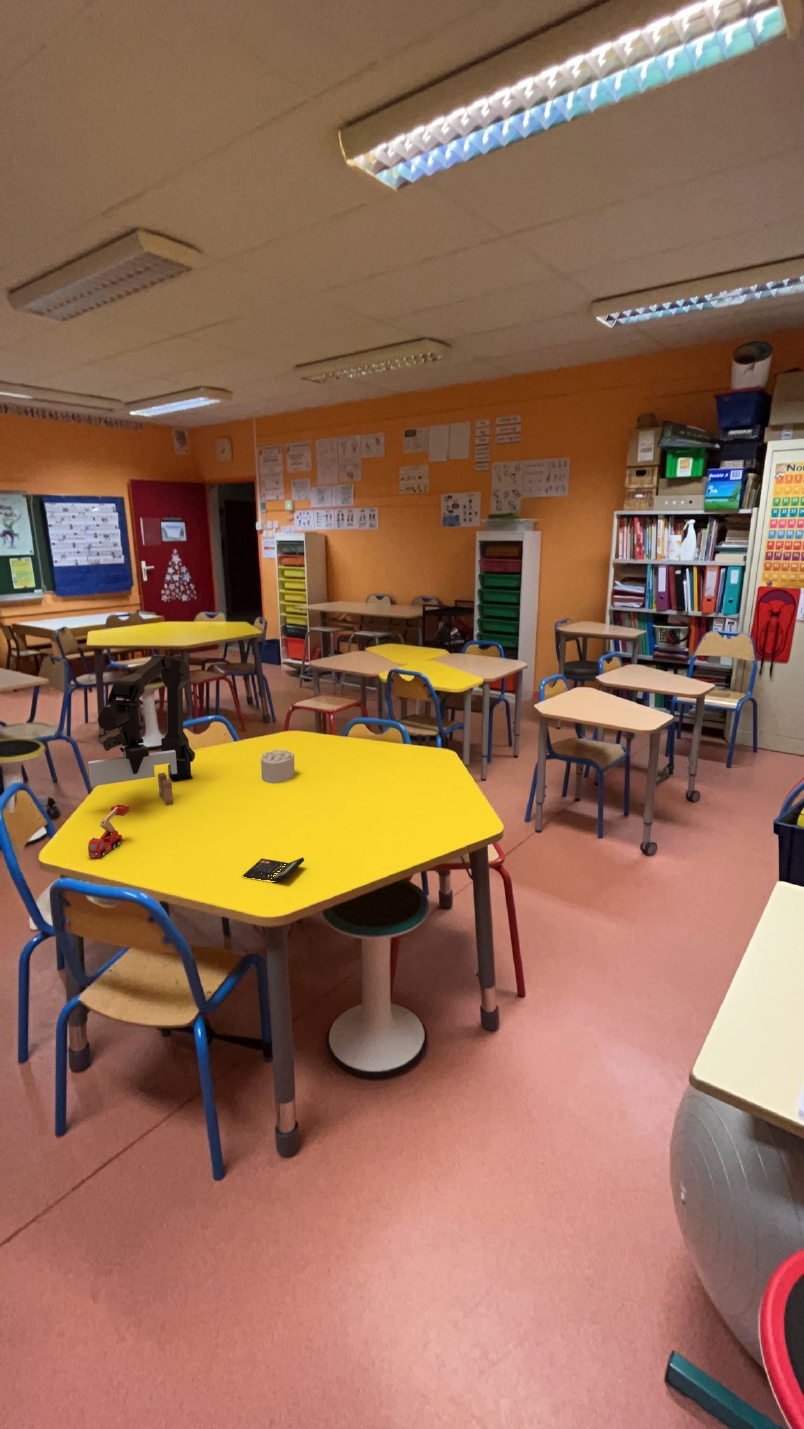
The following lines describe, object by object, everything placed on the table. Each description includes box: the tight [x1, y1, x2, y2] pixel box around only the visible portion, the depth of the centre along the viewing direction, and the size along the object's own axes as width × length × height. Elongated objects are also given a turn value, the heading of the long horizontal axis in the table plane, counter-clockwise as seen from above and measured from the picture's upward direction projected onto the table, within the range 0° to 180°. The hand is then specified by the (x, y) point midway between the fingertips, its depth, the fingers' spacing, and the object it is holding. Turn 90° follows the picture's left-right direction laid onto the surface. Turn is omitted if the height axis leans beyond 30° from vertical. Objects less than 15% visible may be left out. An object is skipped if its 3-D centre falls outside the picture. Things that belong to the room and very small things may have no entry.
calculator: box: [242, 857, 305, 882], centre depth 156 cm, size 9×12×3 cm
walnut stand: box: [157, 772, 174, 806], centre depth 200 cm, size 10×2×7 cm, turn 31°
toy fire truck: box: [87, 804, 130, 859], centre depth 166 cm, size 3×14×10 cm, turn 169°
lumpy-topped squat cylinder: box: [260, 749, 296, 784], centre depth 222 cm, size 10×13×9 cm
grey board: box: [88, 750, 177, 787], centre depth 194 cm, size 24×2×7 cm, turn 121°
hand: (134, 772), depth 194 cm, fingers closed on grey board, 2 cm apart
